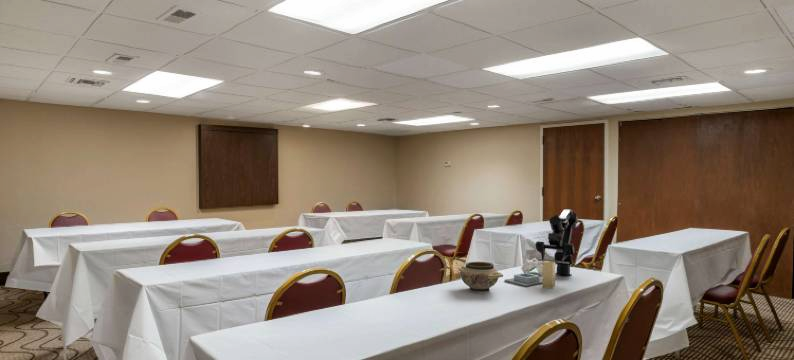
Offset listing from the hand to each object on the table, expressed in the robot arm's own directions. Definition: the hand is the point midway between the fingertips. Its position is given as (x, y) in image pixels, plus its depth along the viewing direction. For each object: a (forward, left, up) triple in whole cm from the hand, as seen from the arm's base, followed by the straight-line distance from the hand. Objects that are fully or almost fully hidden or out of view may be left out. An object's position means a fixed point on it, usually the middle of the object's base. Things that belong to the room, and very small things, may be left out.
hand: (551, 260), depth 232 cm
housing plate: (+9, -9, -12) cm, 17 cm away
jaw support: (-8, -24, -12) cm, 29 cm away
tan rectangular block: (+4, +3, -12) cm, 13 cm away
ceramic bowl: (+41, -1, -12) cm, 43 cm away
